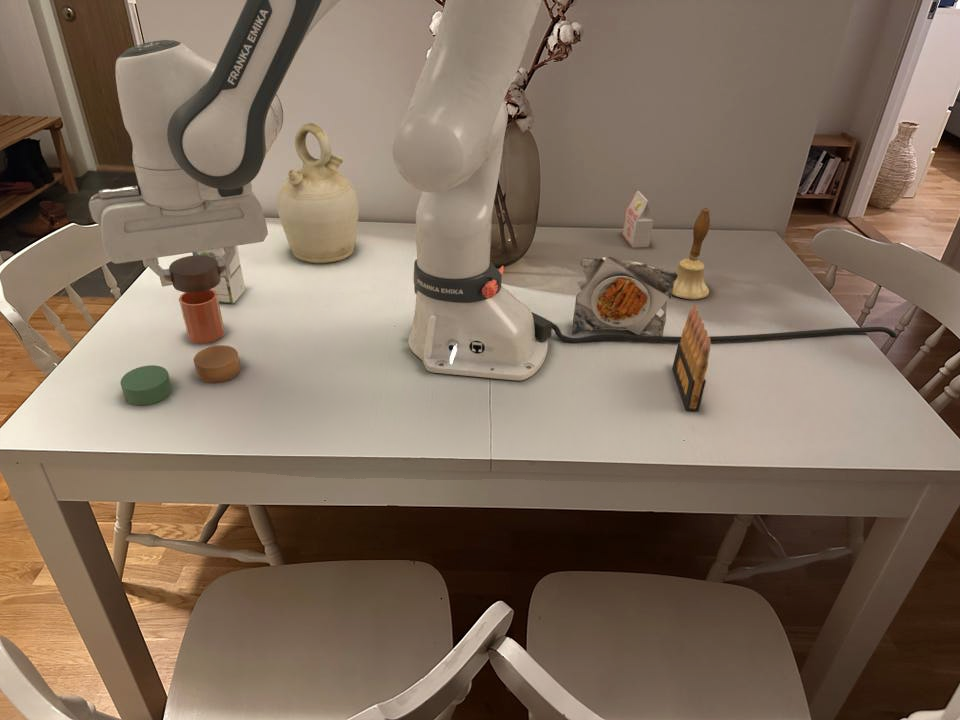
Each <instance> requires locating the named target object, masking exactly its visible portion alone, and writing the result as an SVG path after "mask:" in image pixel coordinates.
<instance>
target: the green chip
mask: <svg viewBox="0 0 960 720" xmlns="http://www.w3.org/2000/svg"><path fill="white" fill-rule="evenodd" d="M119 382H120V383H119V384H120V386H121V387H120V388H121V390H122V393H123V396H124V400H125V401H126V402H127V403H128V404H130V405H133V406H141V407H144V406H151V405H153V404H158V403H160V402H162V401H164V400H165V399H166V398H168V397H169V396H170V395H171V393H172V392H173V386H172V381H171V379H170V375H169V371H168V370H167V369H166V368H165V367H163V366H160V365H143V366H139V367H135V368H134V369H131V370H130V371H128V372H126V373H125V374H124V375H123V376H122V377H121V379H120V381H119Z"/></svg>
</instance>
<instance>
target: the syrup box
mask: <svg viewBox="0 0 960 720" xmlns="http://www.w3.org/2000/svg"><path fill="white" fill-rule="evenodd" d="M235 251H236V253H235V256H234V258H233V260H232V262H231V264H230V265H229V266H230V271H231V275H229V276H223V277H221V281H220V283H219V284H218V285H217V286H216V287H214V288H212V289H211V290H214V291H215V292H216V293H217V296H218V301H219V304H220V303H221V304H235V303H236V302H237V301H238V299H239V298H240V297H241V296H242V294H244V292H245V290H246V284H245V280H244V275H243V271H242V265H241V260H240V253H239V248H238V246H235ZM191 254H192V256H193V255H205V256H210V257H213V258H215V259H216V260H217V261H221V260H222V259H223V256H224V254H225V252H224V249H223V248H218V249H212V250H205V251H198V252H192V253H191Z"/></svg>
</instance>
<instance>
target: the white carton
mask: <svg viewBox="0 0 960 720" xmlns="http://www.w3.org/2000/svg"><path fill="white" fill-rule="evenodd" d="M653 227H654V217H653V214H652V211H651V207H650V201H649V200H648V199H647V198H646V197H645V196H644V195H643V194H642V193H641V192H640V191H639V190H635V192H634V195H633V196H632V198H631V200H630V202H629V203H628V205H627V207H626V208H625V214H624V221H623V225H622V233H621V235H622V236H623V238H624V239H625V241H626V242H627V243H628V244H629V246H630V247H631V248H633V249H634V248H638V249H639V248H650V243H651V237H652V233H653V232H652V231H653Z"/></svg>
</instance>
